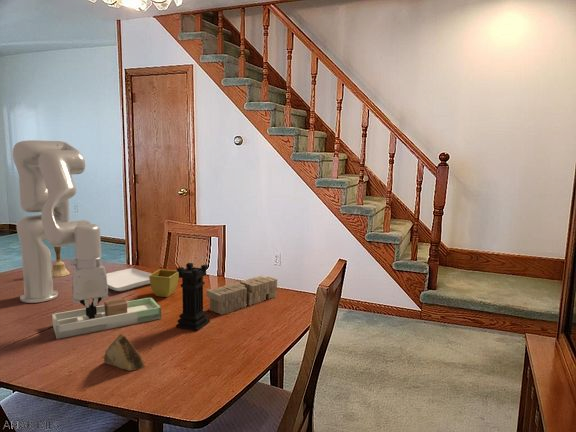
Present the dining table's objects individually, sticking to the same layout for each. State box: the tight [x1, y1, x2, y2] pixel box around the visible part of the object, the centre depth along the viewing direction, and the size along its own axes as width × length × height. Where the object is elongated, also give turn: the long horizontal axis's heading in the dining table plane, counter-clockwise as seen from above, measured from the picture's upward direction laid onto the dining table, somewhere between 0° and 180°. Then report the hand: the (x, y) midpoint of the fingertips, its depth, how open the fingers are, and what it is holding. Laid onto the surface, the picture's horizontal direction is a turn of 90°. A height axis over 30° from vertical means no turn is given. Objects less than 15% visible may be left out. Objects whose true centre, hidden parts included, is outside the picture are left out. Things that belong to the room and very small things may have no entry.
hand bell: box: [52, 246, 71, 278], centre depth 196 cm, size 8×8×16 cm
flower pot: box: [149, 269, 179, 298], centre depth 174 cm, size 9×9×9 cm
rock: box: [103, 333, 146, 371], centre depth 120 cm, size 11×9×10 cm
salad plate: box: [106, 267, 152, 292], centre depth 187 cm, size 21×21×3 cm
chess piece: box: [175, 262, 211, 332], centre depth 145 cm, size 8×8×20 cm
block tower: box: [205, 275, 278, 316], centre depth 167 cm, size 8×8×29 cm
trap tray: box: [51, 296, 162, 340], centre depth 147 cm, size 12×32×4 cm, turn 123°
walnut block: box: [103, 297, 127, 316], centre depth 148 cm, size 6×6×4 cm
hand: (91, 317), depth 144 cm, fingers closed
